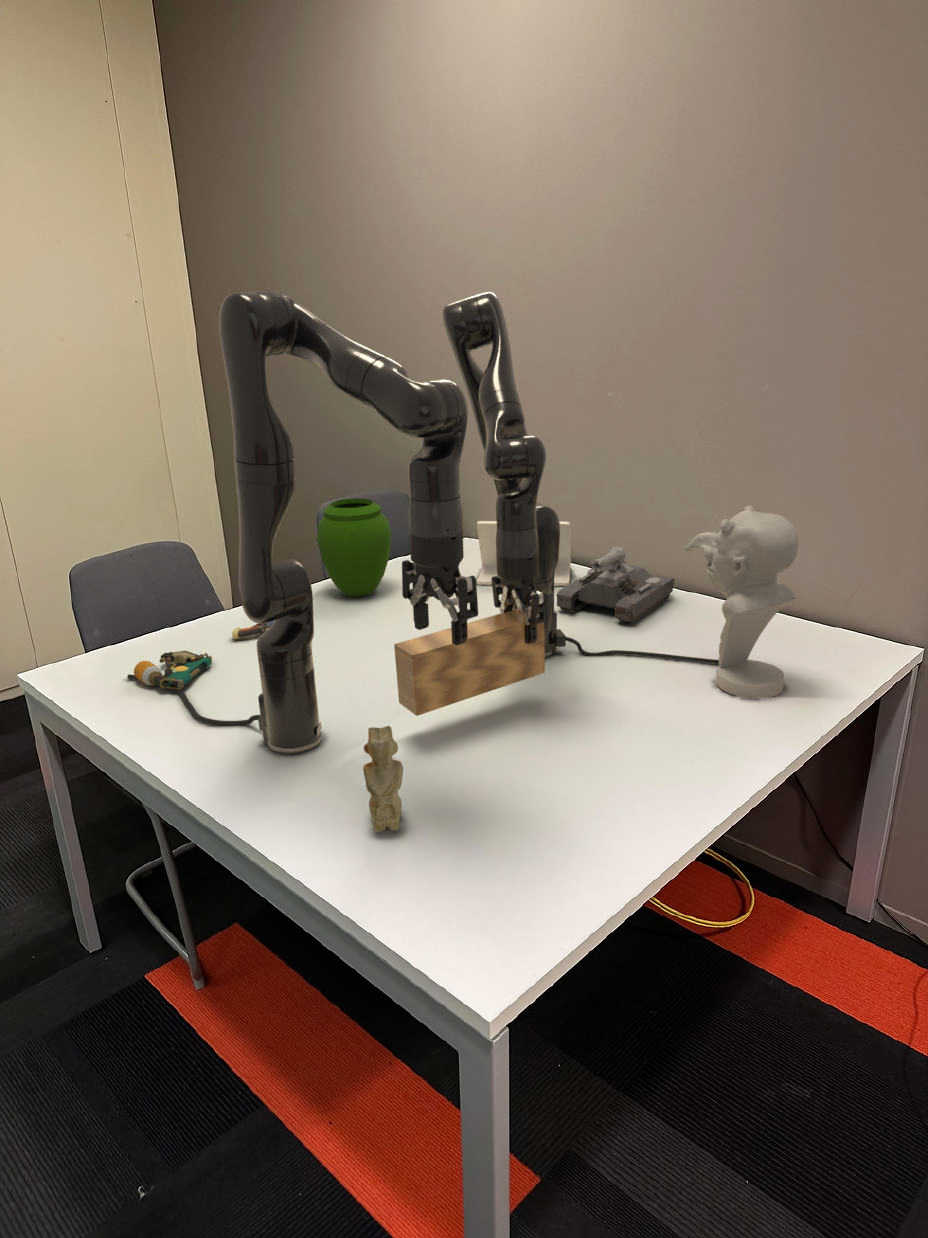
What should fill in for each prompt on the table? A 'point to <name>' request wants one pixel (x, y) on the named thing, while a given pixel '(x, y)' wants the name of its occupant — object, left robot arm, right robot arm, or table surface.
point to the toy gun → (251, 630)
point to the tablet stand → (490, 561)
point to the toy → (616, 588)
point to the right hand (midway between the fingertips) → (519, 636)
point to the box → (466, 662)
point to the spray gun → (172, 669)
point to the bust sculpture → (748, 593)
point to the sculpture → (383, 778)
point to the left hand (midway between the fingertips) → (440, 635)
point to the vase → (354, 545)
